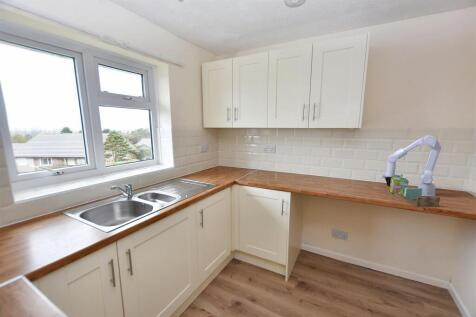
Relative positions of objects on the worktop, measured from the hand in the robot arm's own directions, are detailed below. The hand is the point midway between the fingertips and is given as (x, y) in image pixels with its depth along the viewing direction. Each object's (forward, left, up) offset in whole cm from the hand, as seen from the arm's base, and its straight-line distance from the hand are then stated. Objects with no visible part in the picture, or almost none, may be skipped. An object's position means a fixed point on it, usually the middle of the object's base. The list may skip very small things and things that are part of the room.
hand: (388, 186), depth 165 cm
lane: (0, +25, -2) cm, 25 cm away
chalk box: (0, +10, -3) cm, 10 cm away
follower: (0, +23, -2) cm, 23 cm away
